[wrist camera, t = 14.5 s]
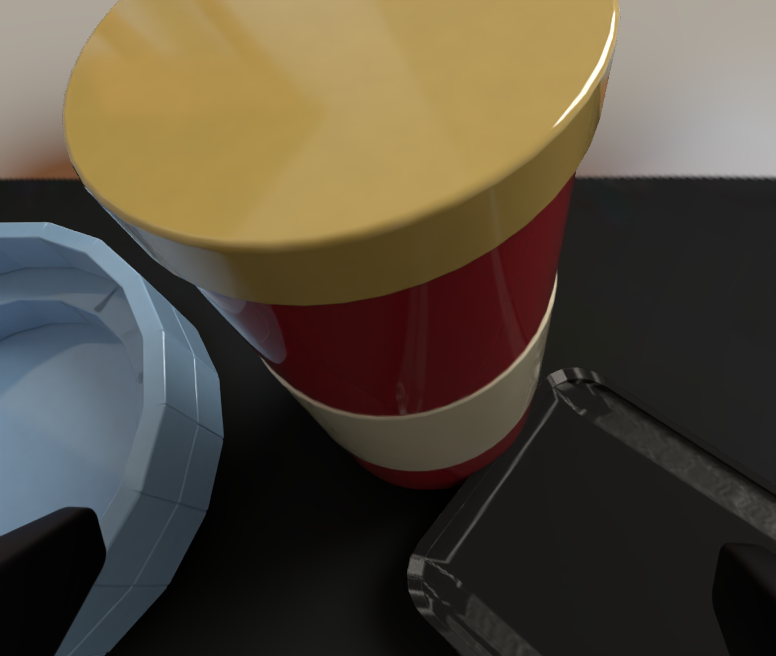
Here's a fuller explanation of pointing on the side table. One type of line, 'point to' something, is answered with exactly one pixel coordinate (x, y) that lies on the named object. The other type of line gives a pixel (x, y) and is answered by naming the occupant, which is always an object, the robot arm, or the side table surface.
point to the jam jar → (357, 195)
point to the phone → (590, 533)
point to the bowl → (103, 416)
